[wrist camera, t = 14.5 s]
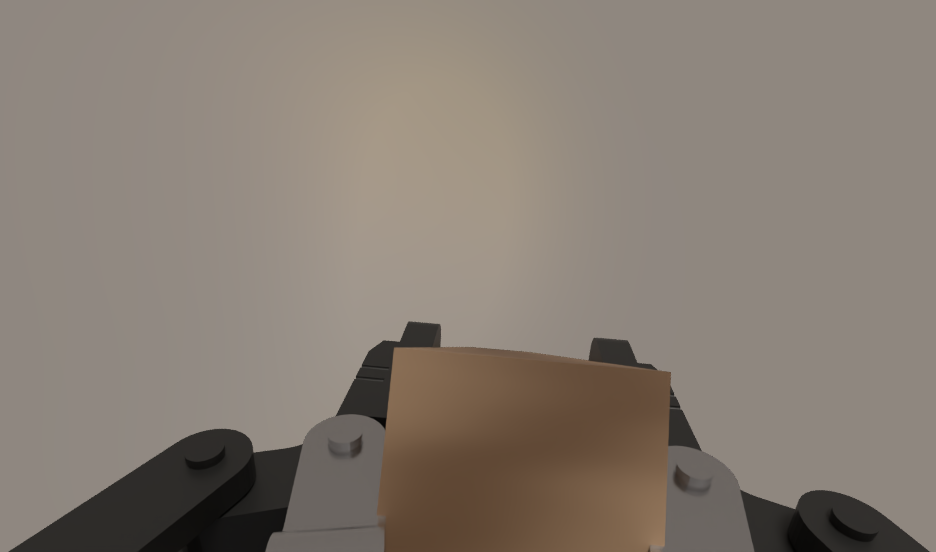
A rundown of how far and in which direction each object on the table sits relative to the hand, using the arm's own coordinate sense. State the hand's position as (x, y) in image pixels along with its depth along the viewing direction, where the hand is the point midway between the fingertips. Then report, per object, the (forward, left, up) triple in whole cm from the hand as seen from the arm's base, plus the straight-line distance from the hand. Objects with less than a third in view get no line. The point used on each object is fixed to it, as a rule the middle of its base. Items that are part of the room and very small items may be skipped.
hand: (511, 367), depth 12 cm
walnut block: (0, -7, -3) cm, 7 cm away
